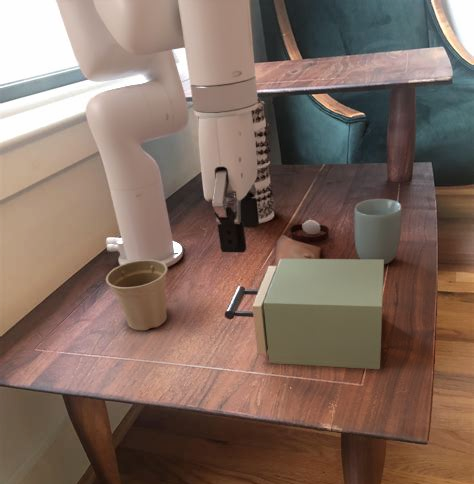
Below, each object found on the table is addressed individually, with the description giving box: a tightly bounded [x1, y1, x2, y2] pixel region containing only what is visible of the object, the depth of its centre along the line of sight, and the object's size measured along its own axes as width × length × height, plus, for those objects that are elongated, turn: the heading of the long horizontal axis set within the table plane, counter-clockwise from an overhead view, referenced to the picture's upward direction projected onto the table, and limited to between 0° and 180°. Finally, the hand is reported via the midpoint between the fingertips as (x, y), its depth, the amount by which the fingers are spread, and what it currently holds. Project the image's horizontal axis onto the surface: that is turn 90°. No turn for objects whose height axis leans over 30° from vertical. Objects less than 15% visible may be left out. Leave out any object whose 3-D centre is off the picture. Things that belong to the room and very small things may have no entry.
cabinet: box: [264, 258, 385, 370], centre depth 75 cm, size 15×13×10 cm
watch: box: [289, 219, 330, 244], centre depth 106 cm, size 8×5×4 cm, turn 68°
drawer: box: [224, 265, 277, 356], centre depth 76 cm, size 18×11×8 cm, turn 76°
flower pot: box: [105, 260, 169, 331], centre depth 85 cm, size 9×9×9 cm
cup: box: [353, 198, 403, 266], centre depth 94 cm, size 8×8×10 cm
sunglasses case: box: [274, 234, 322, 267], centre depth 95 cm, size 18×7×7 cm
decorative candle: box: [233, 95, 275, 224], centre depth 114 cm, size 9×9×25 cm
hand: (241, 237), depth 72 cm, fingers open, 7 cm apart
